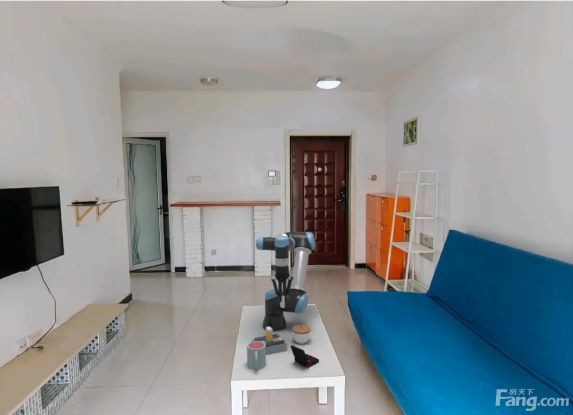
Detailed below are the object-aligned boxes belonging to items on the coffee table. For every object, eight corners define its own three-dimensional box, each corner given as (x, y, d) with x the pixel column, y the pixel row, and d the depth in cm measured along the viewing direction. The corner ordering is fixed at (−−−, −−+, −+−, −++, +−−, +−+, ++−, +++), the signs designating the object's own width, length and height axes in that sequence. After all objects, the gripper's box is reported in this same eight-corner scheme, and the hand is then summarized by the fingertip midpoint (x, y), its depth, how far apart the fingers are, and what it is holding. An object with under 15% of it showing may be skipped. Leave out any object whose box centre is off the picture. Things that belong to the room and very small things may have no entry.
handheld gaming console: (319, 362, 187) (319, 343, 187) (303, 370, 179) (303, 351, 178) (306, 356, 194) (306, 337, 193) (289, 364, 186) (289, 344, 185)
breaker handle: (270, 338, 205) (270, 326, 205) (273, 341, 201) (273, 329, 200) (264, 339, 204) (264, 327, 203) (267, 343, 199) (267, 330, 199)
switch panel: (278, 341, 211) (278, 333, 211) (286, 350, 200) (286, 341, 200) (252, 346, 205) (251, 338, 205) (259, 356, 194) (258, 347, 194)
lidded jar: (314, 340, 213) (314, 324, 212) (304, 347, 204) (304, 330, 203) (298, 336, 219) (298, 320, 218) (288, 342, 210) (288, 326, 209)
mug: (247, 360, 189) (247, 341, 189) (265, 359, 190) (265, 341, 189) (246, 374, 176) (246, 354, 175) (266, 373, 176) (265, 353, 176)
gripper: (273, 267, 196) (273, 310, 198) (295, 265, 202) (295, 307, 203) (268, 264, 203) (268, 306, 205) (290, 262, 208) (290, 303, 210)
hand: (282, 307), depth 204 cm, fingers closed
